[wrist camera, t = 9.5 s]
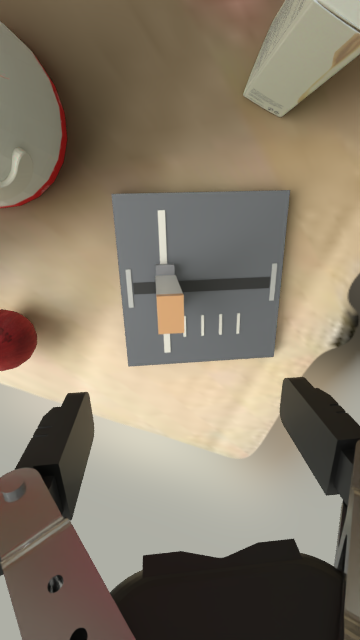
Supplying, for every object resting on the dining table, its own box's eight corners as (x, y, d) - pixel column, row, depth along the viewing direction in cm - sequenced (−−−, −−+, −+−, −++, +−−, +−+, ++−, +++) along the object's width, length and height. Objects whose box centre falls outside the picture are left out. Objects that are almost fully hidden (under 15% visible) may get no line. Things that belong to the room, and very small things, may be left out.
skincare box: (280, 120, 27) (374, 52, 16) (240, 96, 26) (308, 6, 15) (316, 41, 25) (451, -100, 14) (274, 13, 24) (383, -163, 13)
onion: (-19, 308, 31) (-74, 339, 23) (34, 294, 31) (-4, 320, 23) (5, 355, 33) (-38, 397, 25) (55, 342, 33) (26, 381, 25)
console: (283, 191, 29) (290, 190, 28) (268, 351, 36) (273, 357, 34) (113, 195, 28) (111, 193, 27) (129, 360, 34) (128, 366, 33)
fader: (174, 263, 29) (183, 282, 21) (176, 311, 31) (184, 344, 23) (154, 264, 29) (155, 283, 21) (157, 311, 30) (159, 346, 23)
